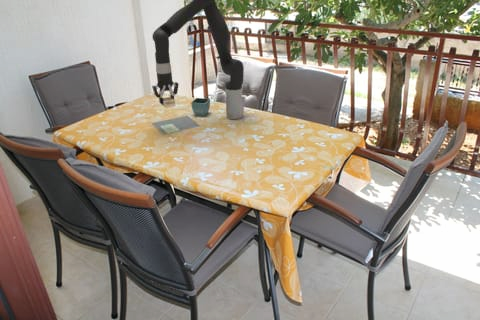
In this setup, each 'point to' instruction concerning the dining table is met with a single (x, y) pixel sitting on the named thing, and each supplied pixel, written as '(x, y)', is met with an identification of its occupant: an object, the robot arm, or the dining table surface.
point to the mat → (175, 124)
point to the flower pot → (200, 106)
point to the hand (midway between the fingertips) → (167, 103)
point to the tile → (168, 101)
